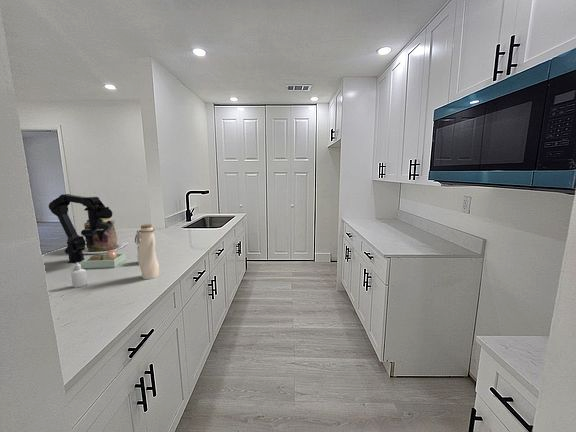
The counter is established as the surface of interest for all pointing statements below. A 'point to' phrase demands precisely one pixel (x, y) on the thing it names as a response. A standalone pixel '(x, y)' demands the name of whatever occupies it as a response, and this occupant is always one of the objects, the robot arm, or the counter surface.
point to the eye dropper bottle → (79, 276)
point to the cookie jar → (107, 243)
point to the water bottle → (147, 252)
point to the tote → (103, 262)
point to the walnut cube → (97, 257)
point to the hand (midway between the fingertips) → (97, 243)
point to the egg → (111, 255)
